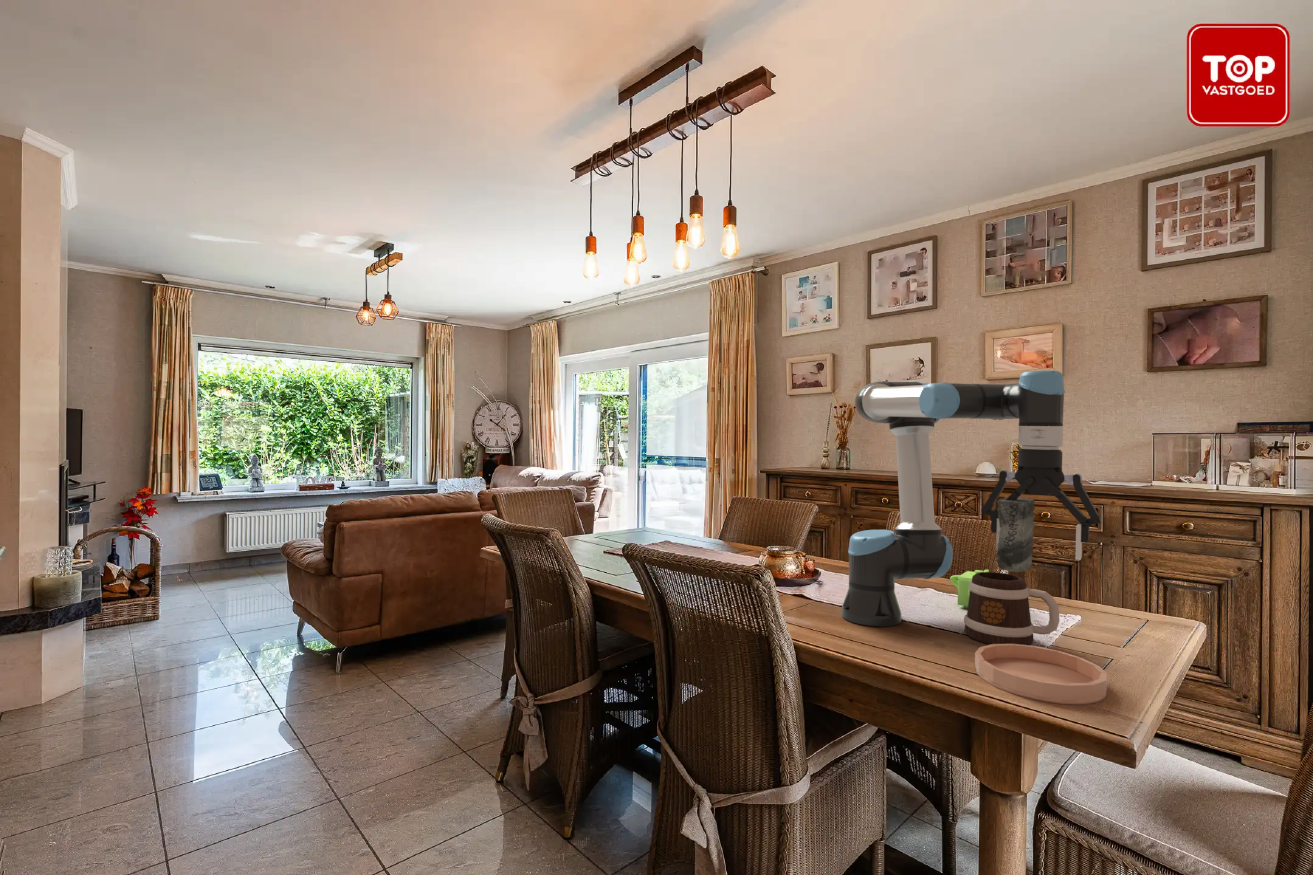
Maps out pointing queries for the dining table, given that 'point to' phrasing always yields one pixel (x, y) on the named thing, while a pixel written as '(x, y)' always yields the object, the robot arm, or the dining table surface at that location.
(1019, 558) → the stone block
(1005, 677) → the dish
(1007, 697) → the dining table surface
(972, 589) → the mug
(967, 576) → the teapot
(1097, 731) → the dining table surface
